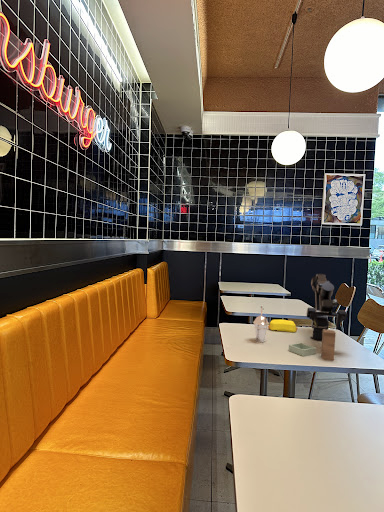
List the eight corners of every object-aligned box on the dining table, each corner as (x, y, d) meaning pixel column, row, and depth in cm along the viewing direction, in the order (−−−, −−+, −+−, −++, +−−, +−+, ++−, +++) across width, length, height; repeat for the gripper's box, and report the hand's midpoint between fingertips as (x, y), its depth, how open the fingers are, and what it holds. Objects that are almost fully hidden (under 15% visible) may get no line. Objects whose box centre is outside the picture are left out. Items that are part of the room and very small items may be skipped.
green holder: (301, 348, 177) (301, 342, 177) (315, 353, 169) (316, 347, 169) (288, 350, 172) (288, 344, 172) (303, 356, 165) (303, 350, 164)
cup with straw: (270, 341, 187) (273, 305, 187) (262, 344, 181) (264, 307, 180) (257, 337, 193) (259, 302, 192) (248, 340, 186) (250, 304, 186)
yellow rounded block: (298, 333, 208) (296, 330, 216) (299, 322, 208) (296, 319, 215) (268, 331, 210) (267, 328, 218) (269, 320, 210) (267, 317, 217)
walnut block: (321, 355, 167) (322, 329, 167) (332, 356, 166) (333, 330, 165) (322, 358, 162) (324, 331, 162) (333, 360, 161) (335, 332, 161)
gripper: (308, 291, 176) (309, 317, 166) (347, 294, 172) (350, 321, 162) (306, 304, 184) (306, 329, 174) (343, 307, 180) (346, 333, 170)
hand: (327, 328), depth 170 cm, fingers open, 9 cm apart
